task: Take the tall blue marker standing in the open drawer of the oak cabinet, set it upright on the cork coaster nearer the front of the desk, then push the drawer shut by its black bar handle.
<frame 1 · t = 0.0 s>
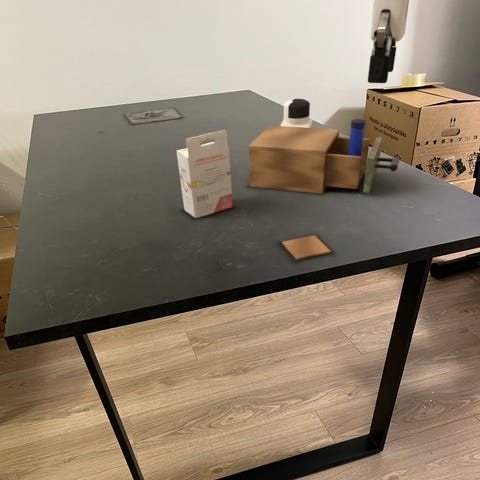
hand: (380, 76, 84), 21 cm above the table, tool pointing down, fingers open, 9 cm apart
cabinet: (294, 177, 103), on the table
mousepad: (139, 120, 146), on the table
marker: (352, 173, 98), point 2 cm above the table, touching drawer
ink cartridge box: (208, 209, 92), on the table
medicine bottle: (295, 153, 116), on the table
drawer: (350, 162, 97), point 4 cm above the table, slide at 8.0 cm, touching marker
coaster: (305, 248, 78), on the table
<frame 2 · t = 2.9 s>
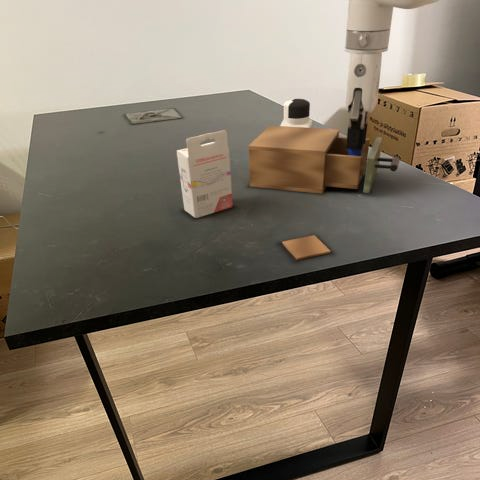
hand: (355, 145, 94), 8 cm above the table, tool pointing down, fingers closed on marker, 2 cm apart
marker: (352, 173, 98), point 2 cm above the table, touching drawer, gripper
everything else where it was.
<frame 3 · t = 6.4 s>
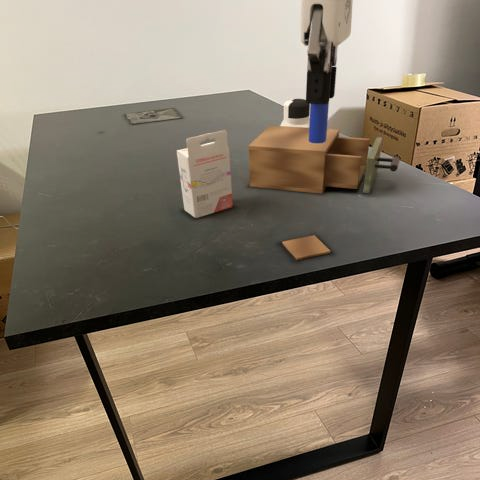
hand: (320, 99, 67), 22 cm above the table, tool pointing down, fingers closed on marker, 2 cm apart
marker: (317, 140, 70), point 16 cm above the table, touching gripper
drawer: (350, 162, 97), point 4 cm above the table, slide at 8.0 cm
everything else where it was.
when the fingers open (6 cm above the table, at t = 10.4 s): marker stays where it is, resting on coaster.
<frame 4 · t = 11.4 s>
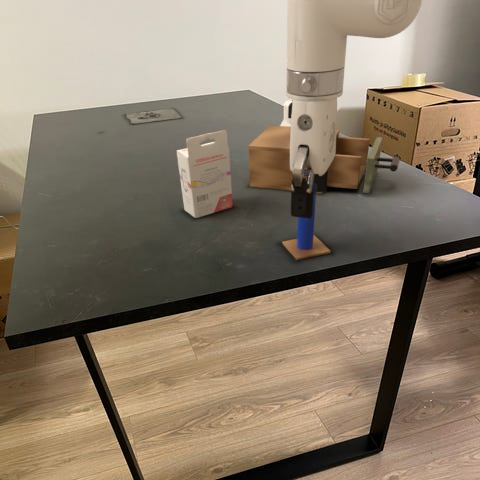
hand: (309, 203, 73), 8 cm above the table, tool pointing down, fingers open, 9 cm apart
marker: (304, 246, 78), resting on coaster
everything else where it was.
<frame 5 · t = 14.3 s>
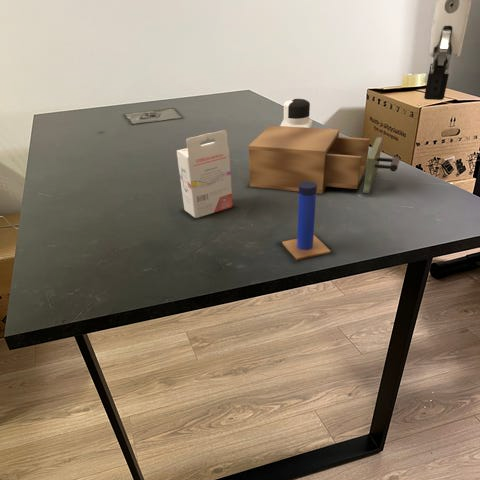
hand: (434, 92, 84), 18 cm above the table, tool pointing down, fingers open, 8 cm apart
nothing on the table moved.
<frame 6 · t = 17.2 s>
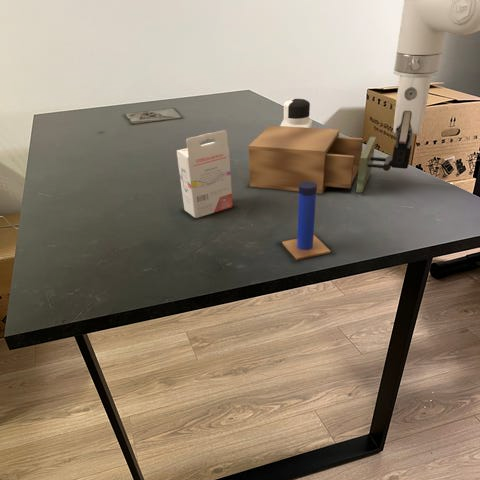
hand: (399, 166, 94), 4 cm above the table, tool pointing down, fingers closed
drawer: (344, 161, 97), point 4 cm above the table, slide at 6.6 cm, touching gripper
everything else where it was.
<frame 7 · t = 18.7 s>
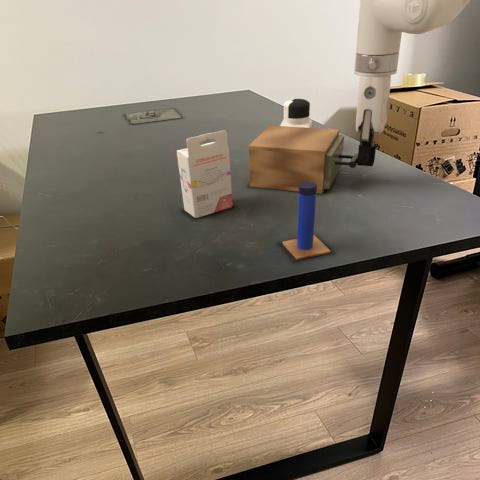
hand: (365, 164, 96), 4 cm above the table, tool pointing down, fingers closed
drawer: (312, 159, 99), point 4 cm above the table, slide at 0.0 cm, touching cabinet, gripper
everything else where it was.
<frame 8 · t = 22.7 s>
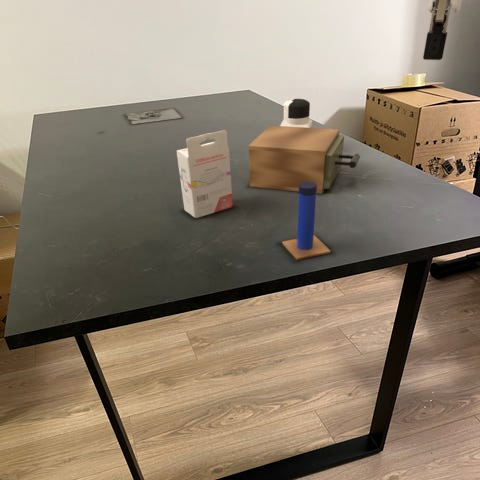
hand: (432, 58, 83), 23 cm above the table, tool pointing down, fingers closed
drawer: (312, 159, 99), point 4 cm above the table, slide at 0.0 cm, touching cabinet
everything else where it was.
at the end: marker 0.2 cm off-centre on the coaster, point 0.4 cm above the coaster's base; marker tilted 0°; drawer slide at 0.0 cm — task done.
